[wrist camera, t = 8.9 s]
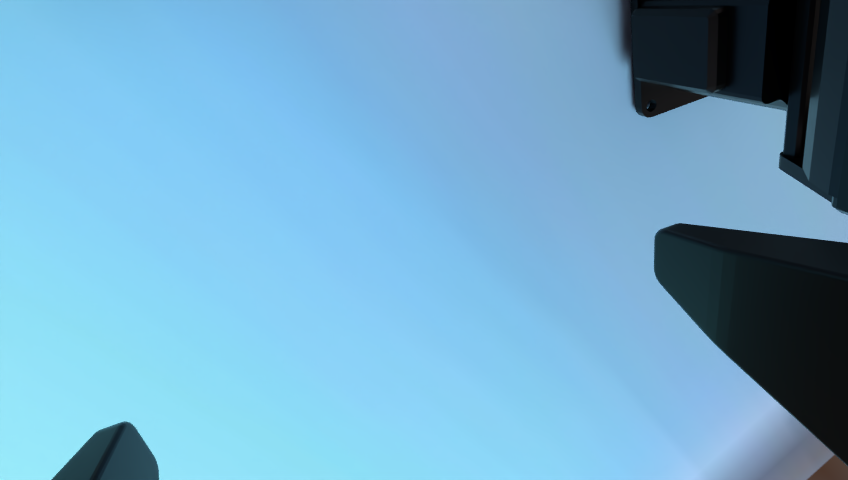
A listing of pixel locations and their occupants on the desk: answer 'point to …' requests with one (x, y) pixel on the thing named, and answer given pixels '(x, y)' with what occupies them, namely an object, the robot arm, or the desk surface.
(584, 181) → the desk surface
